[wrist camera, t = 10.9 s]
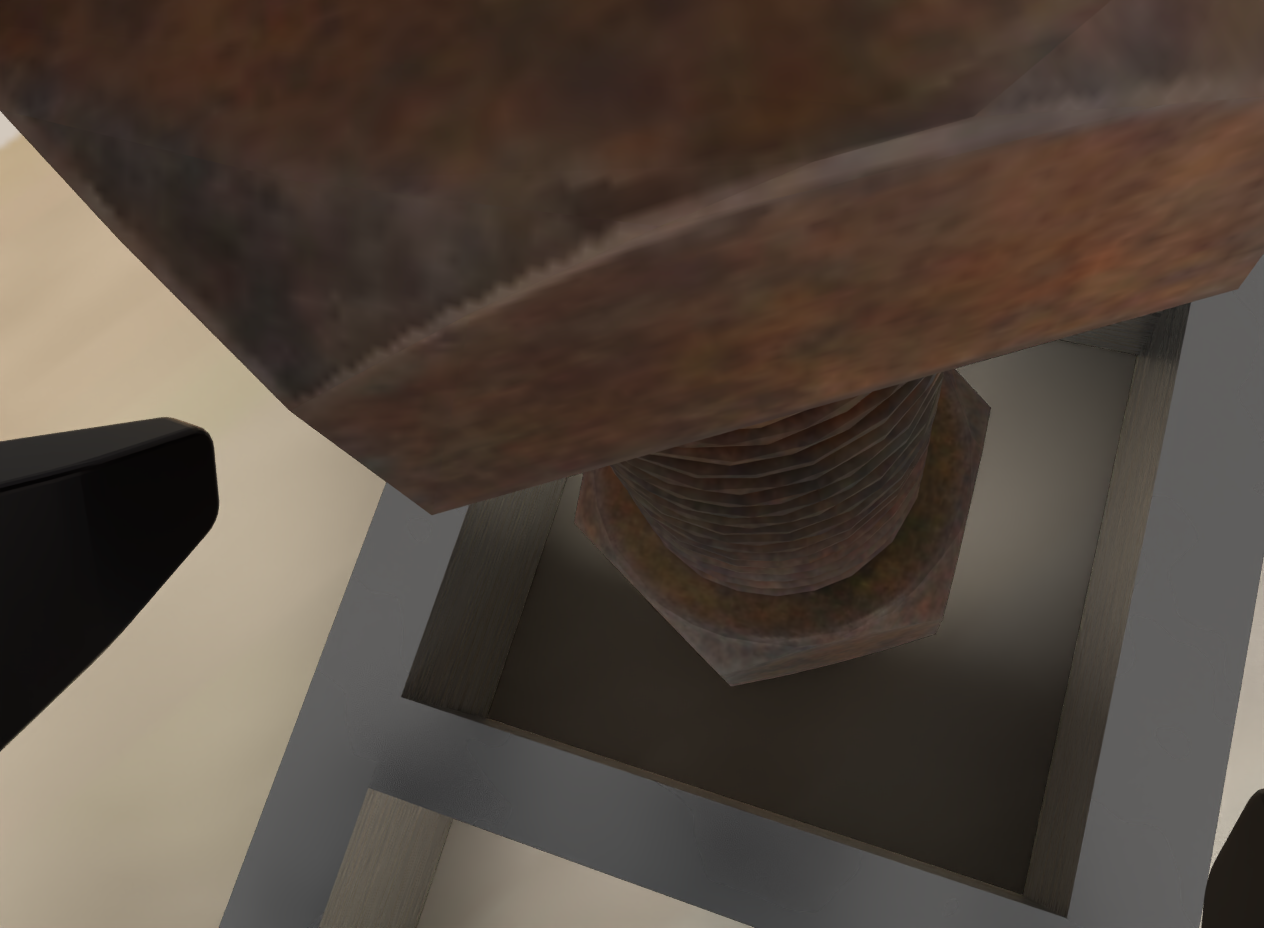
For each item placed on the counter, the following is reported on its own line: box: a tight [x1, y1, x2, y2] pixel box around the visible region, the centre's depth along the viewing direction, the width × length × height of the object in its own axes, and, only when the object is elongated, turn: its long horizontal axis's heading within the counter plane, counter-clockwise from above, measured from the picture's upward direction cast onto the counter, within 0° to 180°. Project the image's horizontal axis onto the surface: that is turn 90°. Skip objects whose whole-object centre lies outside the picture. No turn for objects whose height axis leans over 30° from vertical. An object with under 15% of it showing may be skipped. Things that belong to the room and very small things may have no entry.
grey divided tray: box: [219, 254, 1264, 928], centre depth 15 cm, size 20×11×4 cm, turn 163°
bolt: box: [0, 0, 1264, 686], centre depth 10 cm, size 6×5×15 cm
